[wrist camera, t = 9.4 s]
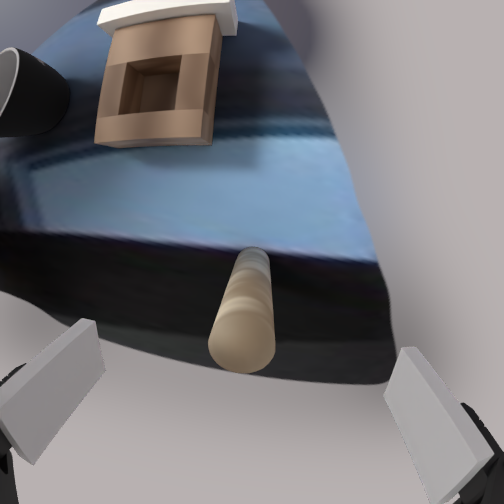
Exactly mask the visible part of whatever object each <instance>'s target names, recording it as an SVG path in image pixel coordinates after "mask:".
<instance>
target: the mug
mask: <svg viewBox="0 0 504 504" xmlns="http://www.w3.org/2000/svg"><path fill="white" fill-rule="evenodd" d="M69 97H70V92H69V87H68V84H67V82H66V81H65V79H64V78H63V77H62V76H61V75H60V74H59V73H58V72H57V71H56V70H54V69H53V68H52V67H50V66H49V65H47V64H46V63H44V62H43V61H41V60H40V59H38V58H36V57H34V56H32V55H31V54H29V53H27V52H24V51H22V50H20V49H17V48H7V49H5V50H3V51H2V52H0V137H21V136H30V135H36V134H41V133H44V132H46V131H48V130H50V129H52V128H53V127H54V126H55V125H56V124H57V123H58V122H59V121H60V120H61V118H62V117H63V115H64V113H65V111H66V109H67V106H68V103H69Z"/></svg>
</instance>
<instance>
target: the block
mask: <svg viewBox="0 0 504 504" xmlns="http://www.w3.org/2000/svg"><path fill="white" fill-rule="evenodd" d="M222 39H223V37H222V34H221V31H220V28H219V24H218V21H217V18H216V15H215V14H214V15H199V16H188V17H180V18H172V19H165V20H159V21H153V22H148V23H142V24H138V25H133V26H129V27H124V28H120V29H116V30H115V32H114V36H113V39H112V43H111V47H110V51H109V55H108V59H107V63H106V68H105V72H104V77H103V83H102V88H101V94H100V100H99V106H98V113H97V121H96V129H95V138H94V143H95V144H100V145H105V146H110V147H115V148H128V147H145V146H174V145H212V136H213V124H214V112H215V102H216V91H217V82H218V72H219V64H220V55H221V47H222Z"/></svg>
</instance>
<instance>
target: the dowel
mask: <svg viewBox="0 0 504 504" xmlns="http://www.w3.org/2000/svg"><path fill="white" fill-rule="evenodd" d="M208 347H209V352H210V354H211V356H212V358H213V359H214V360H215V362H216V363H217V364H219V365H220V366H221V367H223V368H224V369H226V370H229V371H232V372H235V373H251V372H255V371H258V370H260V369H262V368H264V367H265V366H266V365H267V364H268V363H269V362H270V361H271V360H272V358H273V356H274V353H275V334H274V319H273V304H272V290H271V276H270V262H269V257H268V255H267V254H266V252H265V251H263V250H262V249H260V248H258V247H248V248H245V249H244V250H242V251H241V252H240V253H239V255H238V257H237V260H236V263H235V265H234V268H233V271H232V274H231V277H230V280H229V282H228V285H227V288H226V291H225V294H224V297H223V299H222V302H221V305H220V308H219V311H218V314H217V317H216V320H215V322H214V325H213V328H212V331H211V334H210V337H209V341H208Z"/></svg>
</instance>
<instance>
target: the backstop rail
mask: <svg viewBox="0 0 504 504" xmlns="http://www.w3.org/2000/svg"><path fill="white" fill-rule="evenodd" d="M214 14H215V15H216V18H217V21H218V24H219V28H220V31H221V34H222V36H236V35H237V26H238V18H237V12H236V7H235V1H234V0H133V1H129V2H125V3H121V4H118V5H114V6H111V7H108V8H104V9H102V11H101V14H100V17H99V20H98V23H97V25H98V26H99V27H100V28H101V29H103V30H104V31H105V32H106V33H107V34H109V35H110V36H111V37H112V38H113V36H114V32H115V30H116V29H120V28H124V27H129V26H133V25H138V24H142V23H148V22H153V21H159V20H165V19H172V18H180V17H188V16H199V15H214Z"/></svg>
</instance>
